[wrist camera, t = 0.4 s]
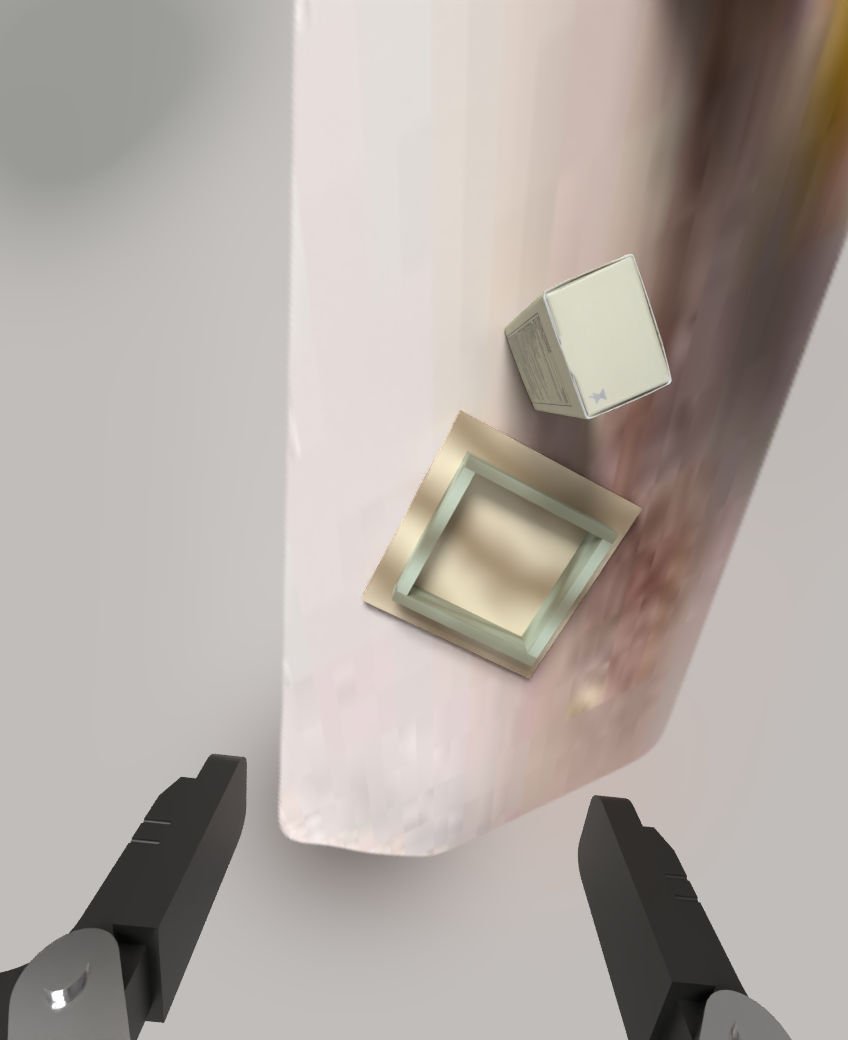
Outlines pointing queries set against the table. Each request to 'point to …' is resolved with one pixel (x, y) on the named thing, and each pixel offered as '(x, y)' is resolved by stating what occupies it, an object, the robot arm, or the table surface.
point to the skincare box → (590, 343)
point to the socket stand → (498, 547)
